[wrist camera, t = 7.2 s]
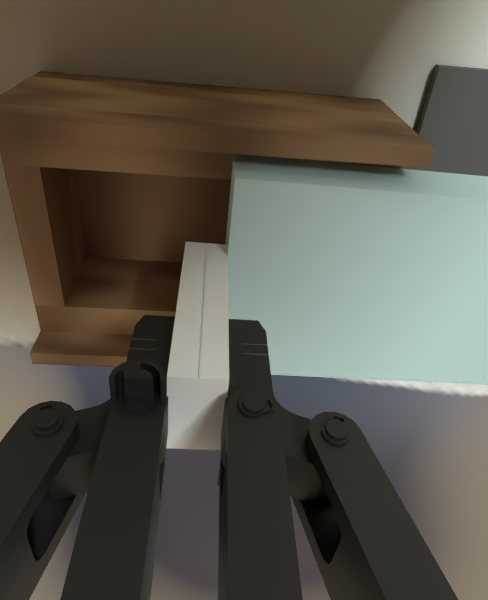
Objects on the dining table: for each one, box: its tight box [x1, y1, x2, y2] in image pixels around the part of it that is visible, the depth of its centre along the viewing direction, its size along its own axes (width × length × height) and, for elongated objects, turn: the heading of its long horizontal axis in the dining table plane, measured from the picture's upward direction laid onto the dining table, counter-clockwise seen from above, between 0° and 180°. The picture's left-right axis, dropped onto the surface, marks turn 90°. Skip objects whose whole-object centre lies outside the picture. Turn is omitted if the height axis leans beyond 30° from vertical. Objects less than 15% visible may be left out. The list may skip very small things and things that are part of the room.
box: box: [0, 72, 434, 367], centre depth 20 cm, size 14×10×6 cm
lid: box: [225, 154, 488, 385], centre depth 18 cm, size 12×8×2 cm
